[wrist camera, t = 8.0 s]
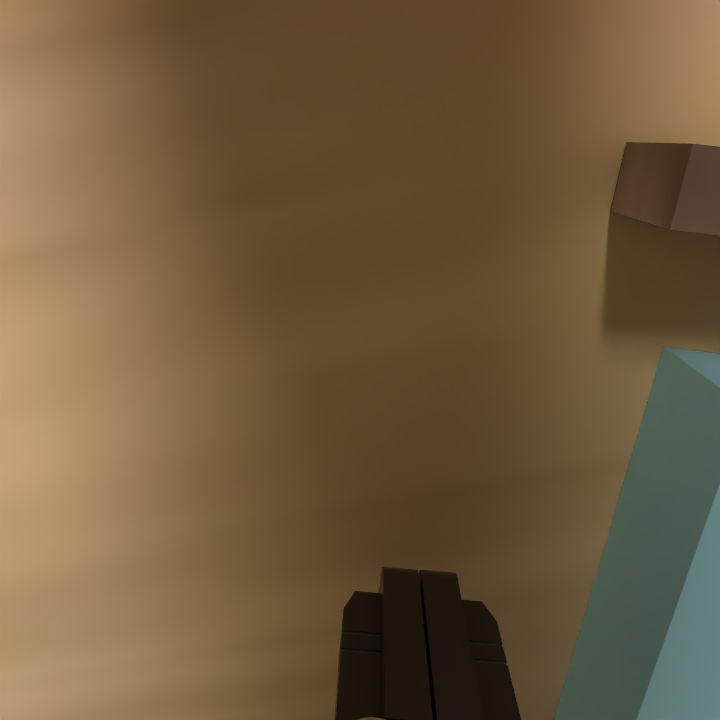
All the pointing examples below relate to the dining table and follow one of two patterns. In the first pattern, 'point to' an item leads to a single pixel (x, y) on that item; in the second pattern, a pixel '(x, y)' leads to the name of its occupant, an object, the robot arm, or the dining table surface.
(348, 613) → the robot arm
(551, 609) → the dining table surface
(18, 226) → the dining table surface
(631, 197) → the walnut bay
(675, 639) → the teal T block
